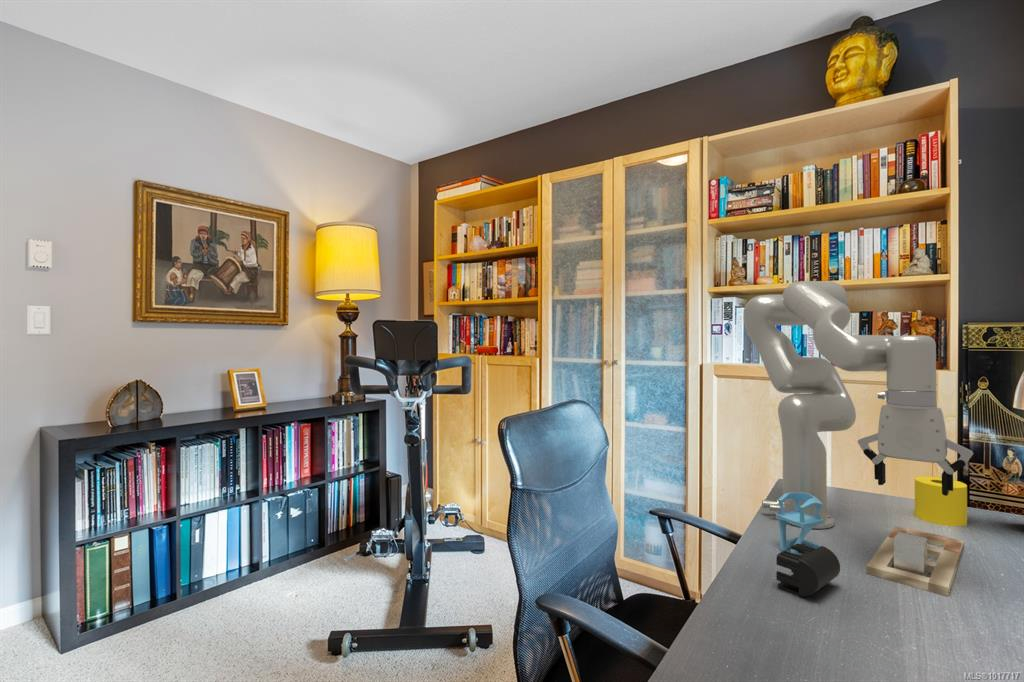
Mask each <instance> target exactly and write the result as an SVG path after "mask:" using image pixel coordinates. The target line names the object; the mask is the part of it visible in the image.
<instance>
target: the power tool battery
mask: <svg viewBox="0 0 1024 682" xmlns="http://www.w3.org/2000/svg"><path fill="white" fill-rule="evenodd" d="M794 544H795V543H794ZM794 544H793V545H792V546H791V547H790V550H791V549H793V550H796V551H798V553H801V554H794V553H790V552H791V551H787V550H785V551H781V552H779V553H778V554H776V558H775V559H776V562H775V563H776V565H777V566H780V567H782V568H785V569H789V570H790V571H791V572H790V573H792V574H791V575H790V574H788V573H785V572H781V571H778V570H776V572H775V573H776V581H778V583H777V588H778V589H779V590H781V591H784V592H786V593H789V594H792V595H794V596H797V597H799V598H806V597H810V596H811V595H813V594H815V593H816V592H817V591H819V590H820V589H822V588H823V587H824V586H826V585H827V584H829V583H830V582H831V581H832V580H834V579H836V578H837V577H838V576H839V574H840V571H841V563H840V560H839V559H838V557H837V556H836V554H835V553H834V552H833V551H832V550H831V549H829V548H828V547H826V546H824V545H820V546H821V547H819V548H817V549H815V548H812V547H810V546H807V545H805V544H802V543H801V544H798V543H797V544H795V545H794Z"/></svg>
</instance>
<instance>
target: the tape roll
mask: <svg viewBox="0 0 1024 682" xmlns="http://www.w3.org/2000/svg"><path fill="white" fill-rule="evenodd" d="M914 516H915V517H916V518H917V519H919V520H921V521H924V522H926V523H930V524H935V525H938V524H940V525H939V526H944V525H947V526H946V527H953V526H962V527H966V526H967V525H968V485H967V484H966V483H964V482H963V481H958V480H954V479H953V491H949V493H948V495H947V496H945V495H943V494H942V477H937V476H927V475H926V476H923V475H922V476H916V477H914Z"/></svg>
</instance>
